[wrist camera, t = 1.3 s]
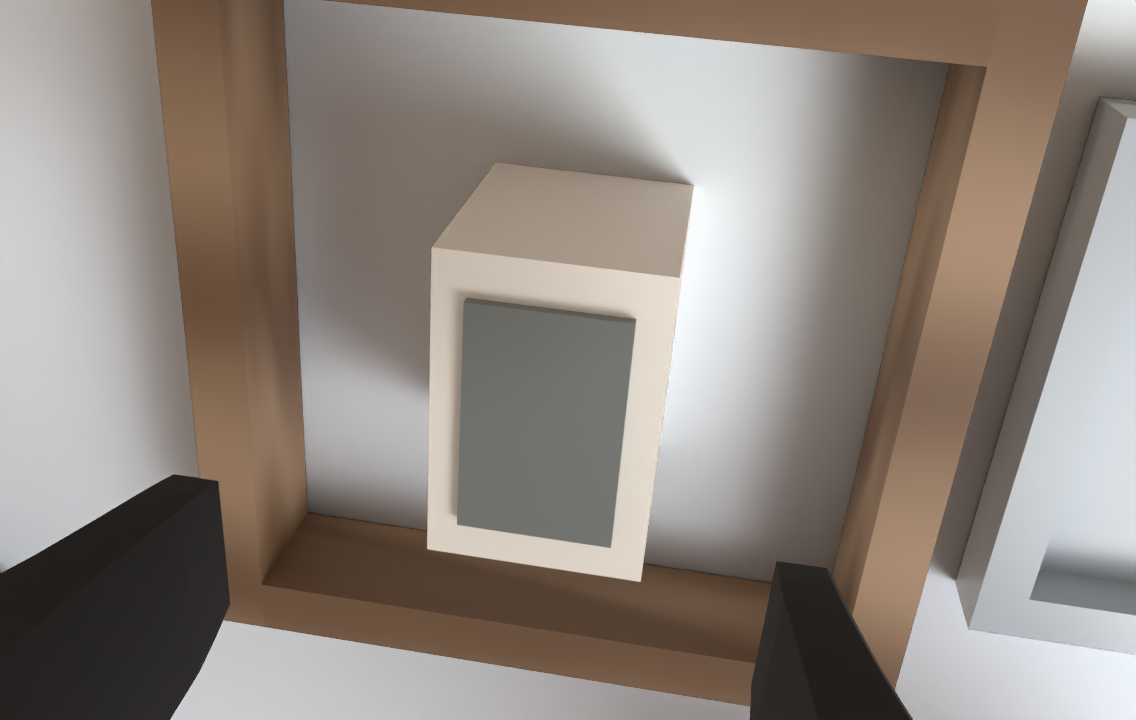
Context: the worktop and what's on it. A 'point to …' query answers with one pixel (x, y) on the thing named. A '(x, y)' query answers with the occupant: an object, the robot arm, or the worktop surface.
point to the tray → (1070, 429)
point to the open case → (665, 595)
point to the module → (552, 367)
